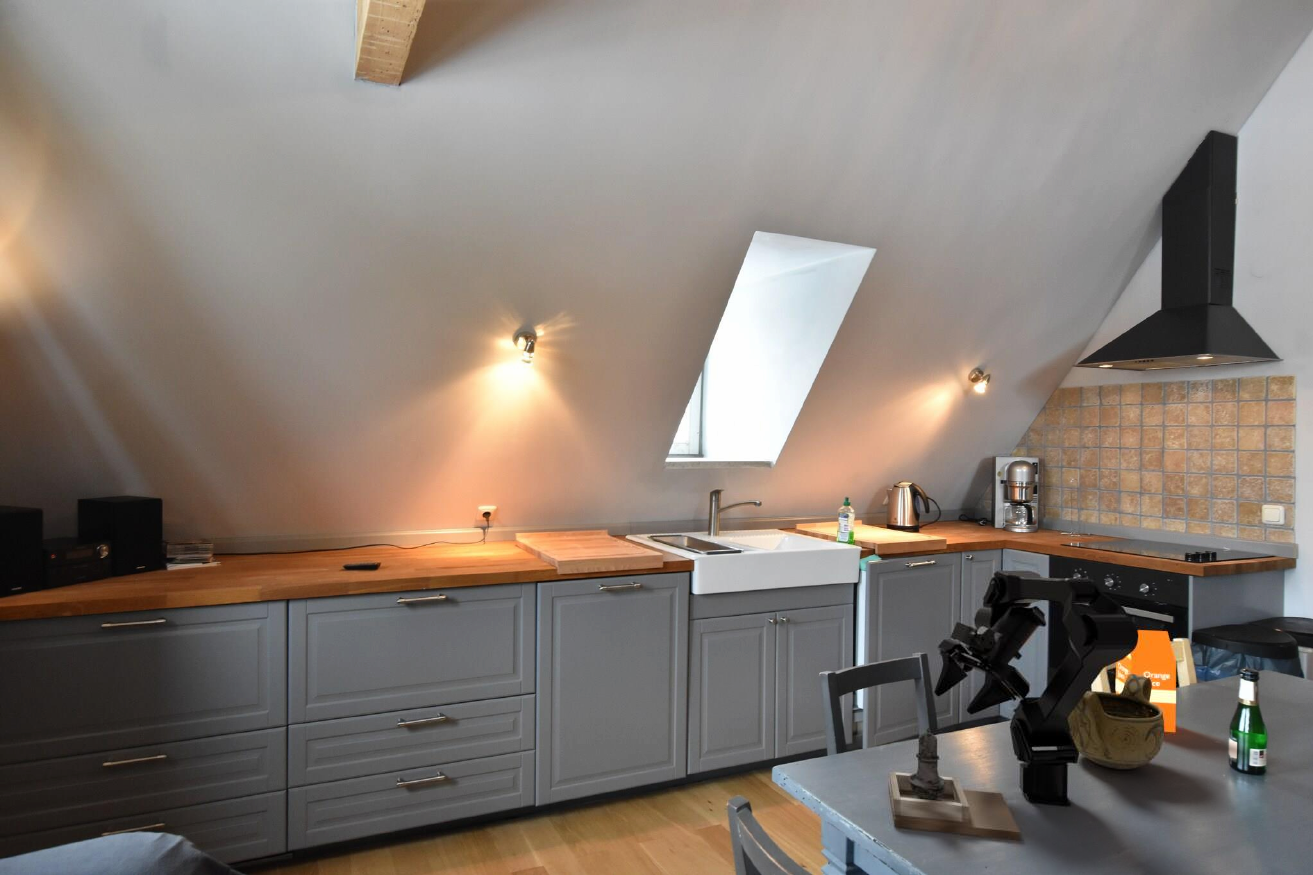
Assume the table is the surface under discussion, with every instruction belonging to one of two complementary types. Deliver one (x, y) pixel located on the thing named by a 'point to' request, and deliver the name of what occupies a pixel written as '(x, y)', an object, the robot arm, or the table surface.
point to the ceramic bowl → (1119, 725)
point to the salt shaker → (927, 770)
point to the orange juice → (1153, 671)
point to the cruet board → (951, 810)
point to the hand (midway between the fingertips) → (951, 703)
